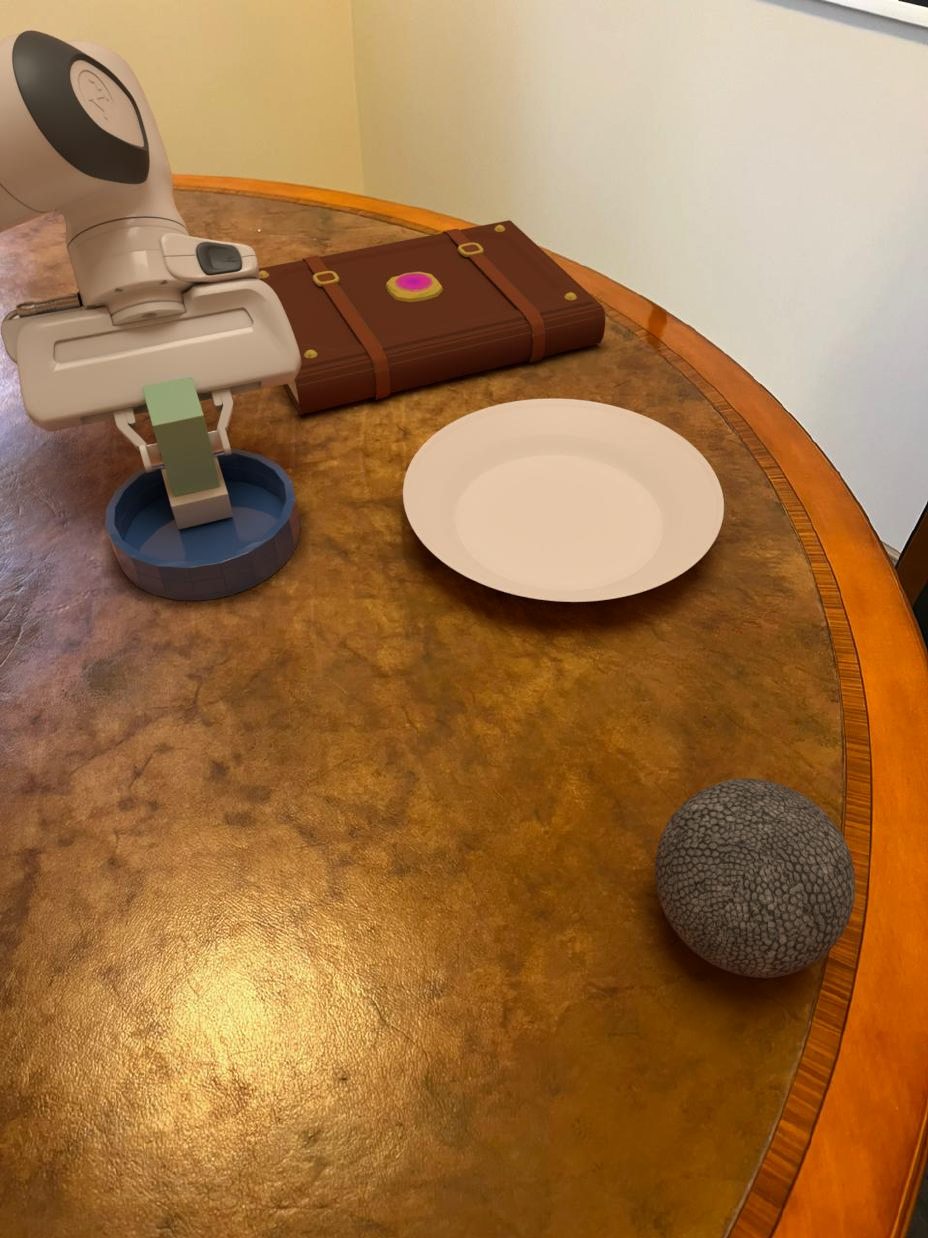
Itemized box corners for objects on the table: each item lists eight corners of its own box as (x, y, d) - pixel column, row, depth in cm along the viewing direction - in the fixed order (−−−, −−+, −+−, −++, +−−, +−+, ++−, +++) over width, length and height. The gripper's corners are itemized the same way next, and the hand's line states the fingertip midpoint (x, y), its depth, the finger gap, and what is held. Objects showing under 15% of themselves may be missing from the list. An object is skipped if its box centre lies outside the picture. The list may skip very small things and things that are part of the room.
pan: (150, 627, 68) (138, 593, 65) (96, 517, 76) (83, 483, 74) (329, 558, 73) (324, 524, 70) (260, 462, 81) (253, 428, 79)
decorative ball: (700, 809, 57) (733, 710, 50) (854, 908, 53) (916, 814, 45) (608, 928, 52) (631, 836, 45) (771, 1049, 47) (826, 968, 40)
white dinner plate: (524, 688, 64) (527, 654, 61) (350, 495, 78) (345, 461, 76) (781, 551, 73) (793, 516, 71) (583, 402, 88) (587, 368, 85)
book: (242, 309, 100) (234, 264, 96) (508, 255, 108) (509, 212, 105) (303, 422, 86) (295, 374, 82) (603, 349, 94) (609, 303, 90)
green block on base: (178, 530, 74) (148, 435, 65) (164, 477, 77) (133, 379, 67) (233, 516, 75) (212, 421, 66) (217, 465, 78) (194, 367, 68)
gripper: (-18, 292, 64) (37, 487, 65) (274, 243, 69) (322, 425, 70) (4, 321, 70) (54, 499, 71) (270, 274, 75) (315, 442, 76)
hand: (189, 462), depth 70 cm, fingers closed on green block on base, 3 cm apart
